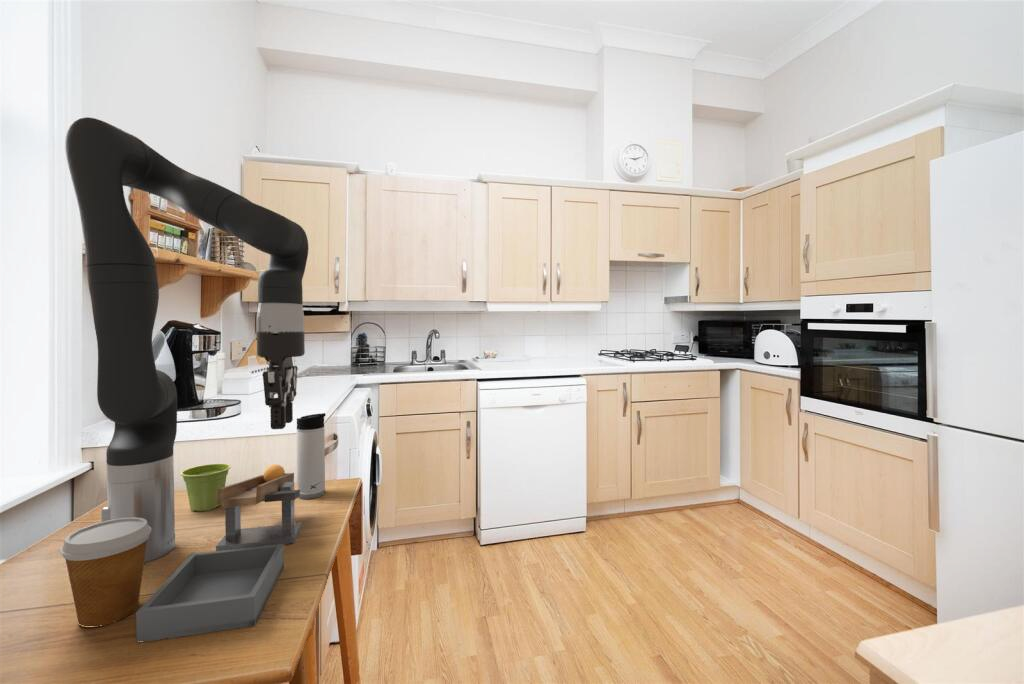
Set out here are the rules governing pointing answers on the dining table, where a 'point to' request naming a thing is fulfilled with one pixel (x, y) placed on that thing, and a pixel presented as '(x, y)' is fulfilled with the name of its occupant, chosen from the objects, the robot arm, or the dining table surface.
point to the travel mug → (311, 456)
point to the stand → (260, 528)
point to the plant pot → (205, 485)
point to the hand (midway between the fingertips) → (282, 425)
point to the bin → (212, 593)
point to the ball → (273, 472)
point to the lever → (256, 491)
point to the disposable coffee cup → (106, 568)
